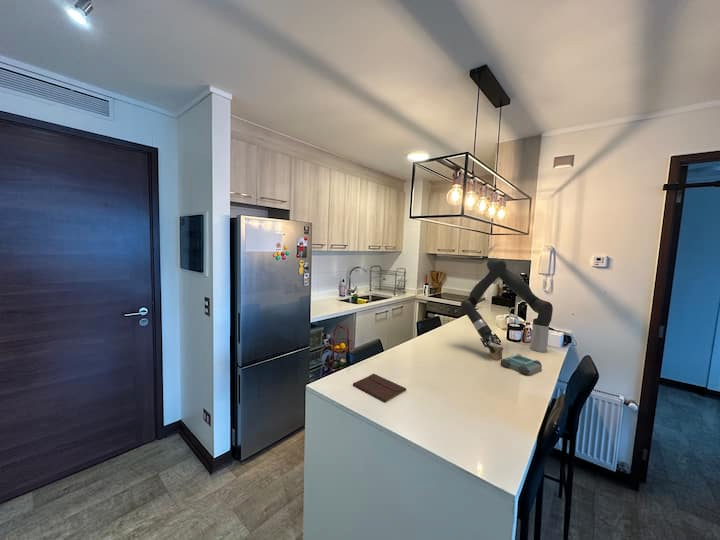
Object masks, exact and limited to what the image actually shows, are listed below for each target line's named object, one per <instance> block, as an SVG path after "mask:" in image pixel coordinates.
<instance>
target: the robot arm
mask: <svg viewBox="0 0 720 540" xmlns="http://www.w3.org/2000/svg"><path fill="white" fill-rule="evenodd" d="M486 268H487V269H488V273H487V274H486V275H485V277H484V278H482V279H481V280H480V281H479V282H478V283H476V285H475V286H474V287H473V288H472V290H471V291H470V293H469V297H468V298H467V299H464V300H462V301H461V303H460V308H461V310H462V311H463V313H465V315H466V316H467V317H468V318H469V320H470V322H471V324H472V325H473V326H474V329H475V330H476V332H477V333H478V335H479V336H480V338H479V340H480V341H481V343H482V344H483V347H484V348H487V349H488V350H489V352H490V351H491V352H492V353H495V350H494V349H493V347H492V346H491V345H492V344H497V345H500V346H502V344H501V343H502V340H501V339H500V337H499V336H498V335H497V334H496V333H492V332H493V331H492V329H491V328H490V326H489V325H488V323H487V322H486V321H485V319H484V318H483V316H482V315H481V314H480V313H479V311H477V310H476V307H477V305H478V304H479V301H480V299H481V298H482V296H484V294H485V293H486V291H487V290H488V289H489V288H490V286H491V285H492V284H493V283H495V281H496V280H497V279H498V278H499V279H500V280H501V281H502V282H503V283H504V284H505V285H506V286H507V287H508V288H509V289H510V290H511V291H512V292H513V293H514V294H515V295H517V296H518V297H519V298H520V299H522V300H523V301H524V302H525V303H526V304H527V305H528V306H529V307H530V309H531V310H532V311H534V312H535V313H537V318H534V319H533V320H532V325H531V326H532V330H531V337H530V339H531V340H530V350H532V351H534V352H540V353H546V352H548V350H547V349H548V344H549V343H548V340H549V329H550V323H551V322H552V318H553V311H554V307H553V304H552V303H551V302H550V301H548V300H547V301H546V300H543V299H541V298H539V296H537V295H535V294H534V293H533V291H532V289H531V287H530V285H529V284H528V283H527V282H526V281H525V280H523V279H522V277H519V276H518V275H517V274H515V273H514V272H512V271H510V270H509V269H508V268H507V263H506V262H505V260H502V259H500V258H498V257H496V258H495V257H493V258H490V259H489V260H488V261H487V263H486Z"/></svg>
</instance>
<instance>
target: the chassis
mask: <svg viewBox="0 0 720 540" xmlns="http://www.w3.org/2000/svg"><path fill="white" fill-rule="evenodd" d="M500 366H502V368H508V369H511V370H512V371H516V372H518V373H519V374H521V375H523V376H524V375H526V376H528V377H530V376H532V375H535V374H536V373H537V374H538V373H539V372H541V371H542V370H543V369H542V367H543V365H542V363H541V362H540V361H539V360H537V359H536V360H535V359H531V358H528V357H526V356H523V355H521V354H519V353H517V354H515V355H510V356H507V357H505V358H502V359H500Z"/></svg>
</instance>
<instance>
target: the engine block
mask: <svg viewBox="0 0 720 540" xmlns="http://www.w3.org/2000/svg"><path fill="white" fill-rule="evenodd" d="M491 346H492V347H493V349H494V350H495V353H492V352H491V351H490V350H489V356H488V357H489V358H490V359H491V360H494V361H501V359H503V350H504V347H503V346H502V345H501V346H500V345H497V344H494V343H492V344H491Z"/></svg>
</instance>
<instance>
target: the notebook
mask: <svg viewBox="0 0 720 540" xmlns="http://www.w3.org/2000/svg"><path fill="white" fill-rule="evenodd" d="M352 386H353V387H355V388H356V389H358V390H360V391H362V392H364V393H366V394H368V395H370V396H372V397H374V398H375V399H377V400H379V401H381V402H383V403H384V404H386V403H387V402H390V400H393V399H394V398H396V397H397V396H400V395H401V394H403V393H405V392H407V387H404V386H402V385H400V384H398V383H395V382H393V381H391V380H389V379H387V378H385V377H382V376H380V375H378V374H375V373H372V374H370V375H368V376H366V377H363V378H362V379H360V380H357V381H356V382H353V383H352Z"/></svg>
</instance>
